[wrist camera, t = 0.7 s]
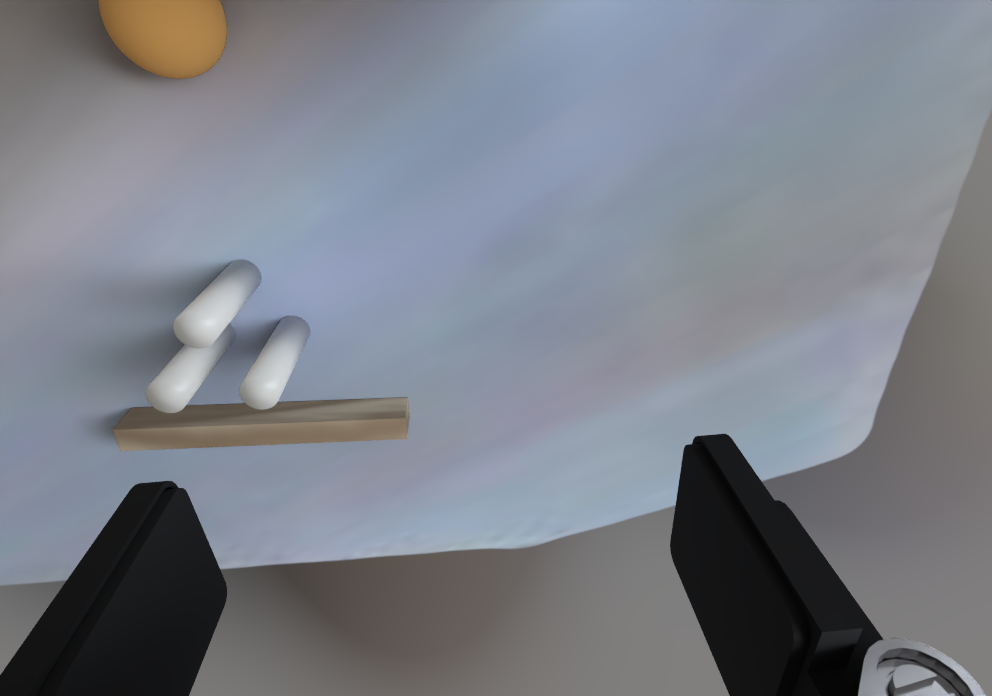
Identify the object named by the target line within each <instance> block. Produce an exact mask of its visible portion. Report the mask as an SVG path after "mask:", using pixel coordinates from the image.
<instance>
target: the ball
mask: <svg viewBox="0 0 992 696" xmlns="http://www.w3.org/2000/svg"><path fill="white" fill-rule="evenodd" d="M98 1H99V9H100V14H101V17H102V20H103V23H104V26H105V28H106V30H107V32H108V34H109V36H110V37H111V39H112V40H113V42H114V43H115V44H116V46H117V47H118V48H119V49H120V50H121V52H122V53H123V54H124V55H125V56H127V57H128V58H129V59H130V60H131V61H133V62H134V63H135V64H137V65H138V66H140V67H141V68H143V69H145V70H147V71H149V72H151V73H153V74H156V75H159V76H162V77H167V78H175V79H185V78H191V77H195V76H198V75H200V74H203V73H204V72H206V71H208V70H209V69H210V68H211V67H213V66H214V65H215V63H216V62H217V61H218V60H219V58H220V56H221V55H222V53H223V50H224V48H225V44H226V38H227V24H226V18H225V14H224V10H223V7H222V5H221V2H220V0H98Z"/></svg>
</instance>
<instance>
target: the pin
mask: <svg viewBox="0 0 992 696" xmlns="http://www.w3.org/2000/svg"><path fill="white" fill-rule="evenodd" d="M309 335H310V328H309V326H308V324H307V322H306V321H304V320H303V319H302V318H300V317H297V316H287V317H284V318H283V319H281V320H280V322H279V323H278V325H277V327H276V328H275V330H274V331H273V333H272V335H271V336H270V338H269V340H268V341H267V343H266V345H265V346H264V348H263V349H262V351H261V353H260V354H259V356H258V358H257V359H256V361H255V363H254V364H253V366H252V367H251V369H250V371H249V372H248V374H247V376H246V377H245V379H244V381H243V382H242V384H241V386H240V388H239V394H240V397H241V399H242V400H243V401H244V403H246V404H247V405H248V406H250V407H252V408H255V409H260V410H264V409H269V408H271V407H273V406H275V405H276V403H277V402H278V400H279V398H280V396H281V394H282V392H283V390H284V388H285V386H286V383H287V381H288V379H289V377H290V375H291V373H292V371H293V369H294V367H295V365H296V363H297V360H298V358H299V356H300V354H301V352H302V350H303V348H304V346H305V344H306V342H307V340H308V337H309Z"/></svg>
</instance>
